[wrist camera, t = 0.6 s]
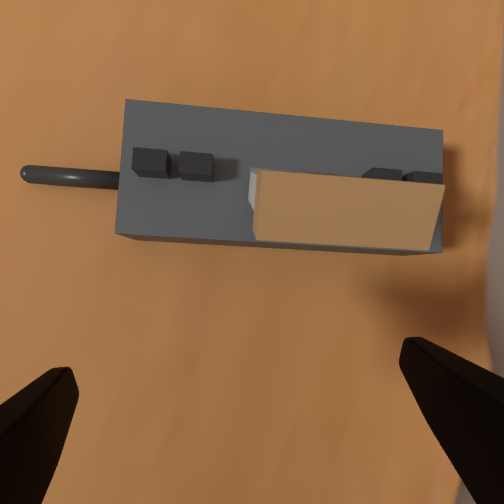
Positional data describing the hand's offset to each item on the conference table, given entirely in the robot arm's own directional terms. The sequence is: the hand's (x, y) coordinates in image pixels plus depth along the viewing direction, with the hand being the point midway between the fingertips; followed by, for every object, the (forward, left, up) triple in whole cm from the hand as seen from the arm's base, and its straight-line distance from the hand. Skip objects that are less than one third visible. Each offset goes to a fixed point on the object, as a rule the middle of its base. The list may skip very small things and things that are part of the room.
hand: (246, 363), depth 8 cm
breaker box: (+8, -1, -13) cm, 16 cm away
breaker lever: (+6, -5, -8) cm, 11 cm away
